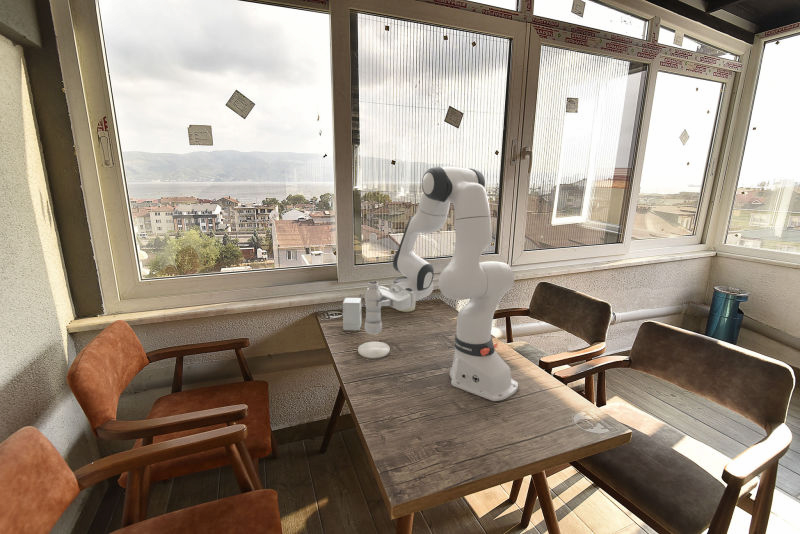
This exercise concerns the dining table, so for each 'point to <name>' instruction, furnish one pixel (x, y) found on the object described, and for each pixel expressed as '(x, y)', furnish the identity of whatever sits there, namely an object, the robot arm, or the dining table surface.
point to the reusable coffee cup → (402, 279)
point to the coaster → (373, 349)
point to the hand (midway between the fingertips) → (371, 301)
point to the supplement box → (352, 314)
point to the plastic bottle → (373, 309)
